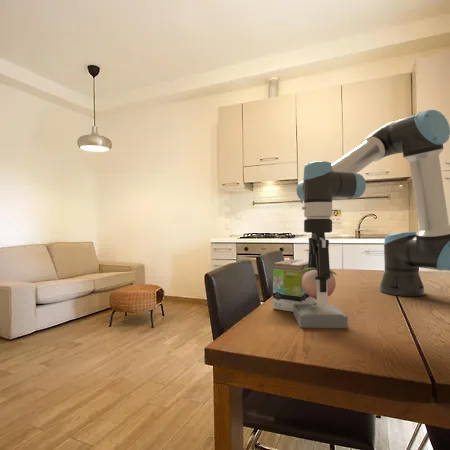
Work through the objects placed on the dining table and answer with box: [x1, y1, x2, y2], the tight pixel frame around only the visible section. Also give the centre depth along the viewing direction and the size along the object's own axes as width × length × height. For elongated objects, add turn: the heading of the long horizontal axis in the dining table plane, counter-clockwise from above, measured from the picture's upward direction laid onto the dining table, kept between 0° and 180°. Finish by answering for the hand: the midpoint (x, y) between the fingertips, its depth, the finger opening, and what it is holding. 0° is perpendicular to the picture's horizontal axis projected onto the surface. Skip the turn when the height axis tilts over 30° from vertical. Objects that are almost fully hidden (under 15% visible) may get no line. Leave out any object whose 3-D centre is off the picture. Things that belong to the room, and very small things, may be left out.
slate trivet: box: [293, 304, 349, 329], centre depth 88 cm, size 12×12×3 cm
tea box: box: [272, 259, 317, 313], centre depth 104 cm, size 15×10×15 cm
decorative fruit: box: [302, 268, 337, 301], centre depth 88 cm, size 9×8×10 cm
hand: (318, 299), depth 88 cm, fingers closed on decorative fruit, 8 cm apart
